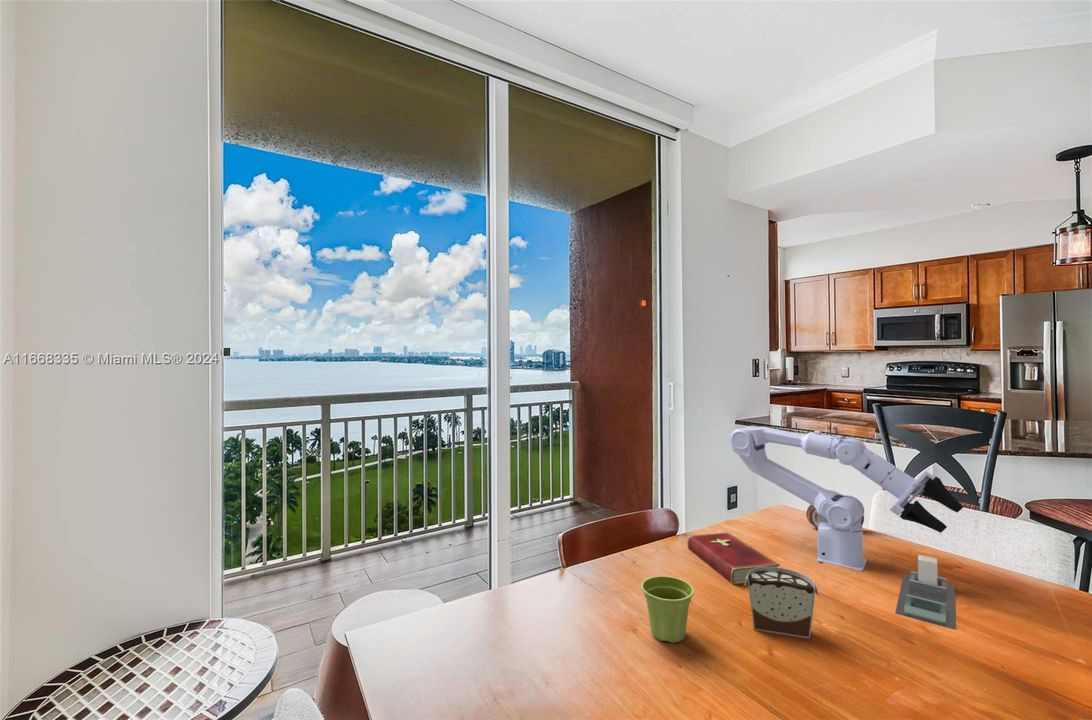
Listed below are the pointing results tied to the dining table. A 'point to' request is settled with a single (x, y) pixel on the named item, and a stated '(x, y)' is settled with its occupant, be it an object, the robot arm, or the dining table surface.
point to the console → (927, 601)
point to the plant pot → (667, 606)
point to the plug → (927, 570)
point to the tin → (819, 517)
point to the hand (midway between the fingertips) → (952, 519)
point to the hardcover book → (728, 555)
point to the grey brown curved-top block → (781, 601)
